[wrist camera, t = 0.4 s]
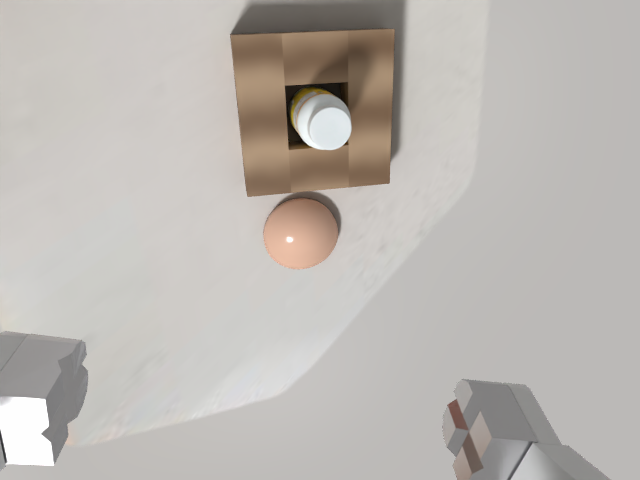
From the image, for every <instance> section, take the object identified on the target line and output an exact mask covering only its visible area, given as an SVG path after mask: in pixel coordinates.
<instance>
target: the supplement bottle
mask: <svg viewBox="0 0 640 480" xmlns="http://www.w3.org/2000/svg"><path fill="white" fill-rule="evenodd" d="M288 115H289V119H290V122H291V124H292V126H293V127H294V128H295V130H296V131H297V132H298V134H299V135H300V137H301V138H302V139H303V140H304V142H305V143H307V144H308V145H309V146H311V147H313V148H316V149H320V150H334V149H337V148H339V147H341V146H343V145H344V144H345V143H346V142H347V140H348V139H349V137H350V134H351V130H352V125H351V116H350V112H349V110H348V108H347V106H346V105H345V103H344V102H343V101H342V100H340V99H339V98H338V97H336V96H334V95H333V94H332V93H330V92H328V91H327V90H325V89H323V88H321V87H316V86H307V87H304V88H302V89H300V90H299V91H297V92H296V93H295V94H294V96H293V97H292V99H291V101H290V103H289V107H288Z"/></svg>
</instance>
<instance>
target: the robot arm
mask: <svg viewBox="0 0 640 480" xmlns="http://www.w3.org/2000/svg"><path fill="white" fill-rule="evenodd" d="M86 355H87V354H86V345H85V342H84V341H82V340H76V339H68V338H60V337H52V336H44V335H36V334H24V333H16V332H9V331H4V332H2V333H0V471H1V470H2V469H3V468H4V467H6V464H25V465H26V464H27V465H49V466H53V465H54V464H55V462H56V460H57V458H58V456H59V453H60V452H61V450H62V448H63V446H64V444H65V442H66V440H67V437H68V427H67V424H68V423H69V422H71V421H72V420H74V419H75V418H77V417H78V414H79V412H80V410H81V408H82V406H83V403H84V399H85V396H86V392H87V385H88V371H87V369H86V368H85V367H84V366H83V365H82V362H83V361H84V359H85V357H86ZM454 393H455V396H456V398H457V399H456V400H454V401H453V402H451V403H450V404H448V405H447V408H446V410H445V413H444V415H443V426H442V428H443V436H444V440H445V443H446V446H447V448H448V449H449V450H450V451H451V452H452V453H453V454H454V455H455V456H456V459H455V461H454V463H453V468H454V471H455V474H456V477H457V480H610V479H609V478H608V477H607V476H605V475H604V474H603V473H602V472H600V471H599V470H598V469H597V468H596V467H594V466H593V465H592V464H591V463H589V462H588V461H587V460H585V459H584V458H583V457H582V456H581V455H579V454H578V453H577V452H576V451H574V450H573V449H572V448H570V447H569V446H566V445H562V444H561V442H560V440H559V439H558V437H557V436H556V434H555V432H554V430H553V428H552V427H551V425H550V423H549V421H548V420H547V418H546V416H545V415H544V413H543V411H542V409H541V407H540V406H539V404H538V402H537V400H536V399H535V397H534V395H533V394H532V392H531V390H530V389H529V388H528V387H527V386H526V385H521V384H511V383H498V382H488V381H476V380H466V379H462V380H461V381H459V382H458V383H457V385H456V388H455V390H454Z"/></svg>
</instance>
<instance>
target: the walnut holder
mask: <svg viewBox="0 0 640 480" xmlns="http://www.w3.org/2000/svg"><path fill="white" fill-rule="evenodd" d="M394 36H395V29H386V28H380V29H355V30H329V31H304V32H279V33H253V34H230V37H231V47H232V57H233V66H234V76H235V86H236V96H237V106H238V115H239V125H240V135H241V145H242V154H243V164H244V174H245V184H246V191H247V196H248V197H252V196H262V195H273V194H283V193H294V192H304V191H315V190H325V189H336V188H346V187H357V186H367V185H378V184H389V183H390V155H391V126H392V96H393V66H394ZM339 82H340V90H341V100H342V101H343V102H344V103H345V105H346V106H347V108H348V110H349V112H350V116H351V125H352V130H351V134H350V137H349V139H348V140H347V142H346V143H345V144H344V145H343V146H341V147H339V148H337V149H334V150H320V149H316V148H313V147H311V146H309V145H308V144H307V143H305V142H304V141H295V142H288V131H287V114H286V97H285V86H287V85H304V84H322V83H339Z"/></svg>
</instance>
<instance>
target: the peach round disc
mask: <svg viewBox="0 0 640 480" xmlns="http://www.w3.org/2000/svg"><path fill="white" fill-rule="evenodd" d="M263 235H264V242H265V246H266V249H267V251H268V253H269V255H270V256H271V257H272V258H273V259H274V260H275V261H276V262H277V263H279V264H280V265H282V266H285V267H288V268H292V269H305V268H310V267H313V266H315V265H317V264H319V263H321V262H322V261H324V260H325V259H326V258H327V257H328V256H329V255H330V254H331V252H332V251H333V249H334V247H335V245H336V242H337V238H338V227H337V223H336V220H335V218H334V217H333V215H332V213H331V212H330V210H329V209H328V208H327V207H326V206H325V205H323V204H322V203H320V202H318V201H316V200H313V199H309V198H296V199H291V200H288V201H286V202H284V203H282V204H280V205H279V206H278V207H276V208H275V209H274V210H273V211H272V212H271V214H270V215H269V217H268V218H267V220H266V223H265V226H264V232H263Z"/></svg>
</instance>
